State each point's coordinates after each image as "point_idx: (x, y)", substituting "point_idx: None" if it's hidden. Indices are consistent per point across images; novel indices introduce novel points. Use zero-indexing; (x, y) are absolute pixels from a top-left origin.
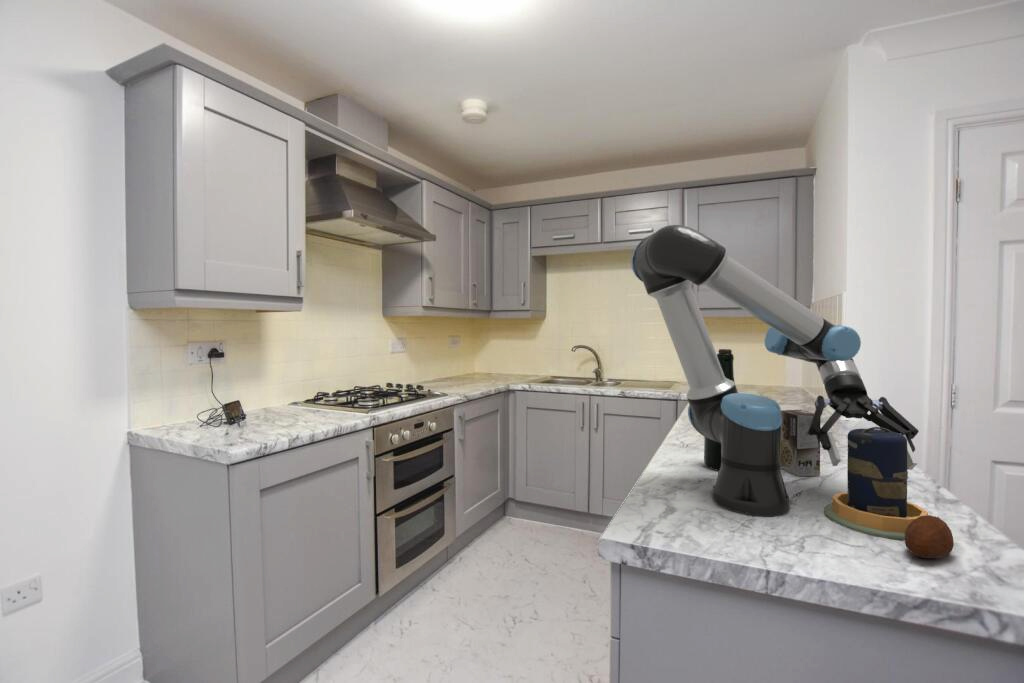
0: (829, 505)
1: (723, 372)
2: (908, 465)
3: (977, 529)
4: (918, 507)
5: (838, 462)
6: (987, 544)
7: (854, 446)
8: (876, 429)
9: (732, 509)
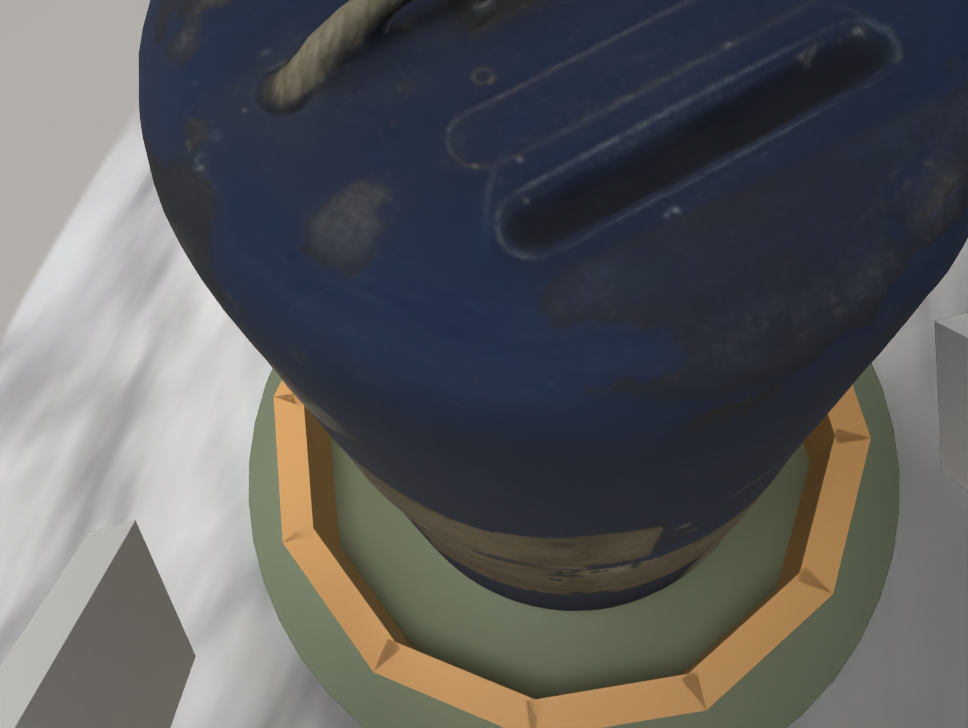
0: (861, 561)
1: None
2: (171, 629)
3: (13, 584)
4: (294, 481)
5: (943, 386)
6: (97, 340)
7: None
8: (487, 269)
9: None
